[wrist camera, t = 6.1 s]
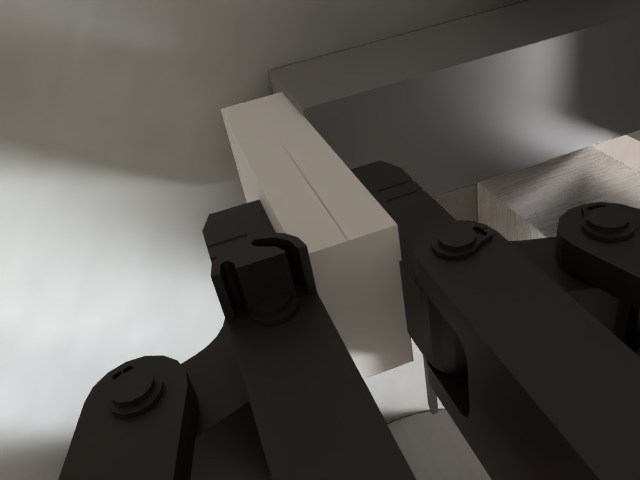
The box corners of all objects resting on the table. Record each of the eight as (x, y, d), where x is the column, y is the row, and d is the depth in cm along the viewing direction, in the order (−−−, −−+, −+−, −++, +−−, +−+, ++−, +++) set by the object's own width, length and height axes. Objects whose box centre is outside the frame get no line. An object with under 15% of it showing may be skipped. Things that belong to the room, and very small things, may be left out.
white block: (733, -93, 16) (1121, -78, 10) (699, 83, 19) (986, 180, 13) (259, 29, 14) (385, 143, 8) (298, 209, 17) (415, 398, 11)
